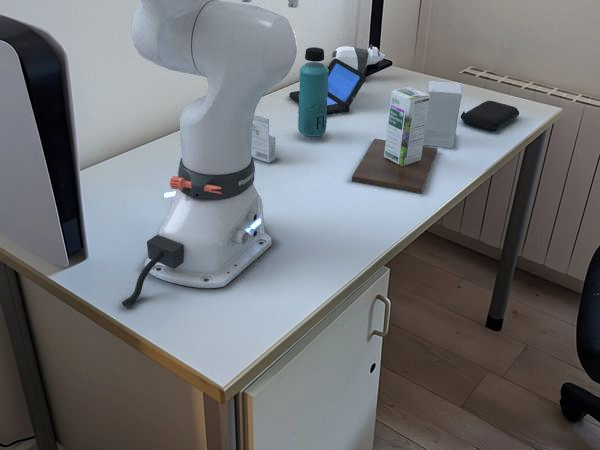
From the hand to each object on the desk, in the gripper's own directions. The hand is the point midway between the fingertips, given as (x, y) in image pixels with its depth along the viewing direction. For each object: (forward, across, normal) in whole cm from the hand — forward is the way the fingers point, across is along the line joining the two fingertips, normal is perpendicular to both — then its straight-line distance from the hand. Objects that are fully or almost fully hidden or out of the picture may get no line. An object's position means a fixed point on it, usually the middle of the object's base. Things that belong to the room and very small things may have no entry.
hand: (269, 4), depth 129 cm
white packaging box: (+31, +33, +21) cm, 50 cm away
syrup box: (+30, +28, +6) cm, 41 cm away
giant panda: (+31, +5, +55) cm, 63 cm away
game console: (+31, +3, +33) cm, 46 cm away
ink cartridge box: (+31, -3, -2) cm, 31 cm away
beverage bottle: (+31, +6, +12) cm, 34 cm away
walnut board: (+31, +27, +4) cm, 41 cm away
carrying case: (+31, +43, +38) cm, 65 cm away
